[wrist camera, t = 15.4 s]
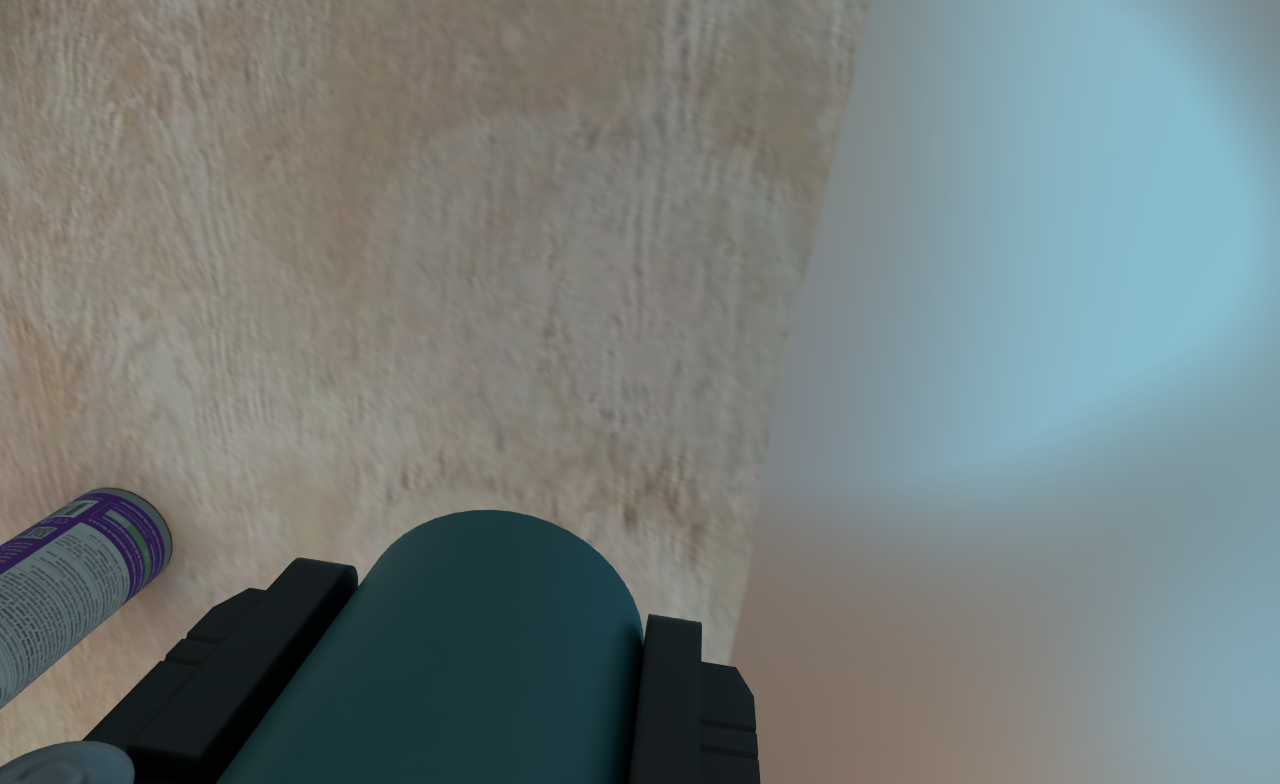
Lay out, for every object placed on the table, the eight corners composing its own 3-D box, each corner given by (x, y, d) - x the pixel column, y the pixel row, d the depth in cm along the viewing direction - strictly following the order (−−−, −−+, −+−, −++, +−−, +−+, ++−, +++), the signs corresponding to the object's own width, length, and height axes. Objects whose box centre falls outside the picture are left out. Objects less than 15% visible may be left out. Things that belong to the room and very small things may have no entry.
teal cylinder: (461, 450, 11) (266, 722, 6) (704, 624, 11) (701, 998, 7) (309, 649, 12) (47, 1006, 7) (535, 797, 12) (430, 1218, 8)
